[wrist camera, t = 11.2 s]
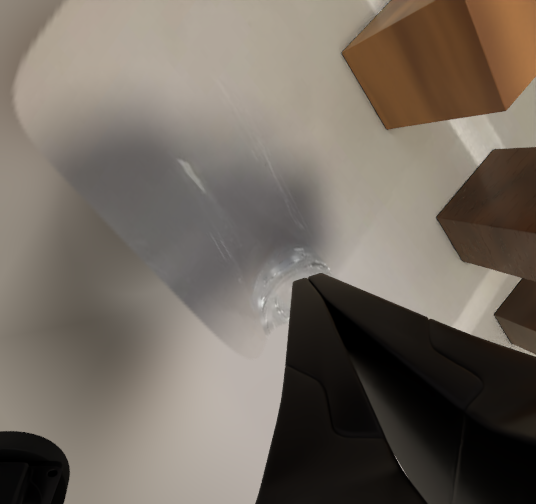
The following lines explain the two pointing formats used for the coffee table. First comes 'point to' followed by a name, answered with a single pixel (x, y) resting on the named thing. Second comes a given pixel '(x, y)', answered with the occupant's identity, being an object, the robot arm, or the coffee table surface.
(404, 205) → the coffee table surface
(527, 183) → the walnut block near
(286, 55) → the coffee table surface
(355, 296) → the robot arm
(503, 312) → the walnut block far
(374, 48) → the oak block
